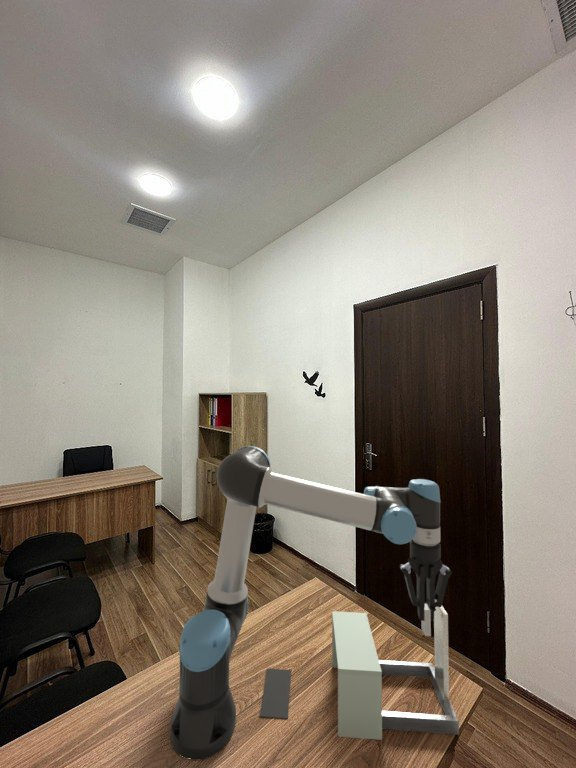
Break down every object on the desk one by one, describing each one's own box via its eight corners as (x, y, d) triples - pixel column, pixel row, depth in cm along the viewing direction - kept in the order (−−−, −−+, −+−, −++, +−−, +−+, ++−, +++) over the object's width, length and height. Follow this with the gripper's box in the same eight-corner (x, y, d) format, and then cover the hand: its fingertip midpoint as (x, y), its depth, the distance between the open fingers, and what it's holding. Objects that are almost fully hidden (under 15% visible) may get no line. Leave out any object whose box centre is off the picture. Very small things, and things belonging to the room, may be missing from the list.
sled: (354, 727, 76) (353, 623, 78) (346, 669, 93) (346, 584, 94) (458, 735, 75) (457, 629, 76) (432, 674, 91) (431, 588, 92)
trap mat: (259, 717, 79) (259, 716, 79) (267, 669, 93) (267, 668, 93) (287, 719, 79) (287, 718, 79) (291, 670, 93) (291, 669, 93)
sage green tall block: (338, 736, 75) (338, 668, 75) (332, 664, 95) (332, 611, 96) (382, 739, 74) (381, 671, 75) (366, 666, 94) (366, 612, 95)
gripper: (404, 545, 82) (404, 641, 81) (456, 547, 81) (458, 644, 80) (396, 533, 89) (396, 621, 88) (444, 535, 88) (445, 623, 87)
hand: (426, 632), depth 84 cm, fingers closed
